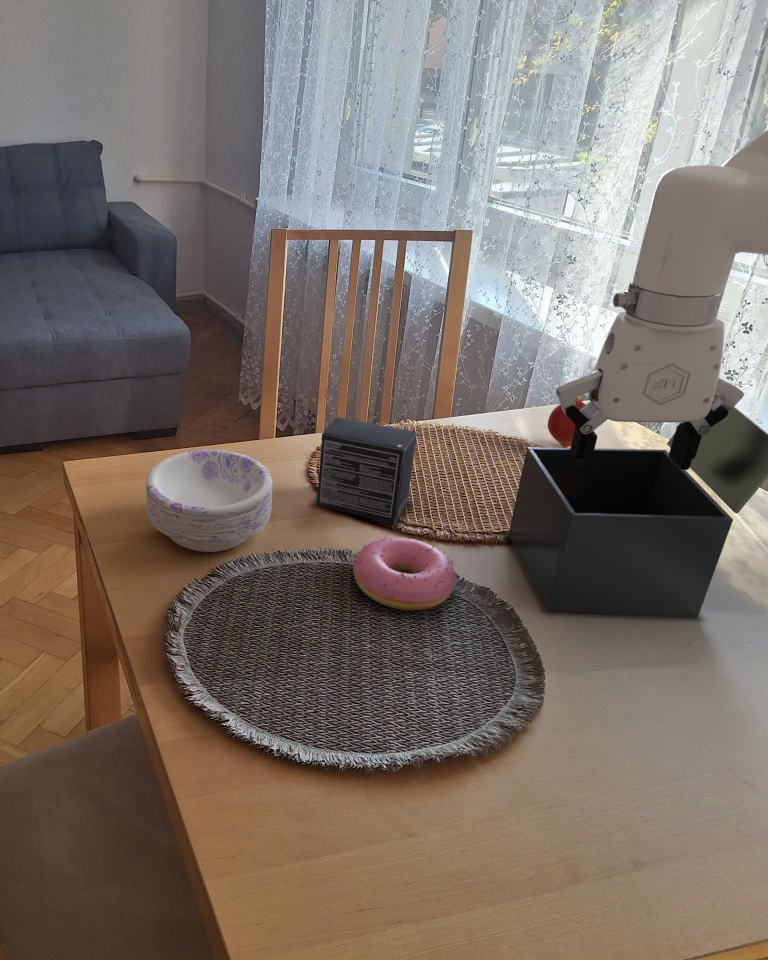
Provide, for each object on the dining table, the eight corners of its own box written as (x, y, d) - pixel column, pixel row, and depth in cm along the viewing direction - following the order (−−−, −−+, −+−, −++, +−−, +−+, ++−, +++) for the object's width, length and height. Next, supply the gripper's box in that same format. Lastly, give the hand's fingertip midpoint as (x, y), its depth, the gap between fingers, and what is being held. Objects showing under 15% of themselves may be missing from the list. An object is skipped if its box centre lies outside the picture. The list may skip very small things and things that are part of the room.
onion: (555, 434, 127) (567, 384, 123) (594, 446, 123) (608, 395, 119) (535, 446, 124) (546, 395, 120) (575, 459, 120) (588, 407, 116)
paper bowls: (131, 555, 103) (128, 498, 99) (166, 494, 115) (166, 441, 111) (256, 576, 98) (259, 517, 94) (279, 510, 111) (283, 455, 107)
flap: (666, 443, 96) (669, 445, 96) (734, 512, 83) (737, 513, 83) (708, 387, 93) (711, 388, 93) (785, 449, 80) (789, 451, 80)
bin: (638, 539, 102) (665, 449, 97) (698, 617, 89) (733, 519, 84) (508, 535, 104) (527, 447, 98) (547, 611, 91) (572, 515, 85)
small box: (409, 502, 111) (420, 429, 106) (395, 526, 107) (406, 451, 101) (330, 484, 116) (337, 413, 111) (314, 506, 111) (320, 433, 106)
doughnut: (407, 631, 89) (412, 598, 87) (330, 580, 97) (333, 550, 95) (474, 593, 94) (481, 562, 92) (396, 549, 102) (400, 519, 100)
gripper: (591, 317, 79) (554, 479, 88) (792, 316, 77) (735, 482, 86) (563, 293, 86) (531, 446, 94) (749, 292, 84) (700, 448, 92)
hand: (629, 463), depth 90 cm, fingers open, 9 cm apart
